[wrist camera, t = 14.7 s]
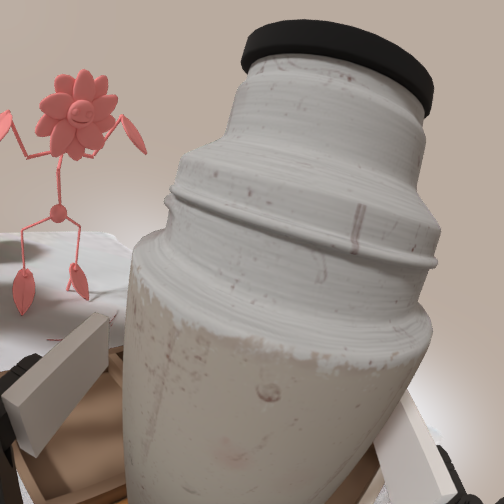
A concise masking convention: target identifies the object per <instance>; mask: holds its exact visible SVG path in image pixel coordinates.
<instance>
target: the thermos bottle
mask: <svg viewBox="0 0 504 504" xmlns="http://www.w3.org/2000/svg"><path fill="white" fill-rule="evenodd" d="M241 66H242V69H243V70H244V71H245V73H247V75H248V76H247V79H246V81H244V82H243V83H242V84H241V85H240V86H239V87H238V89H237V92H236V95H235V99H234V102H233V106H232V109H231V113H230V117H229V121H228V124H227V128H226V131H225V134H224V136H223V137H222V138H220V139H218V140H216V141H214V142H212V143H209V144H207V145H204V146H202V147H200V148H197V149H195V150H192V151H190V152H188V153H186V154H184V155H183V156H182V157H181V159H180V163H179V167H178V171H177V175H176V178H175V183H174V185H171V186H170V189H169V190H170V192H171V194H169V195H167V196H166V197H165V198H164V204H165V205H166V206H167V207H168V209H169V214H168V220H167V225H166V228H165V229H161V230H157V231H154V232H152V233H150V234H148V235H146V236H144V237H142V238H141V240H140V241H139V242H138V243H137V244H136V245H135V247H134V249H133V253H132V260H131V268H130V276H129V285H128V295H127V306H126V319H125V333H124V352H123V385H122V414H123V446H124V464H125V477H126V488H127V498H128V504H324V503H325V502H326V501H327V500H328V499H329V498H330V497H331V495H332V494H333V493H334V492H335V491H336V490H337V488H338V487H339V486H340V485H341V484H342V482H343V481H344V480H345V479H346V477H347V476H348V475H349V474H350V472H351V471H352V470H353V468H354V467H355V466H356V465H357V463H358V462H359V461H360V459H361V458H362V457H363V455H364V454H365V452H366V451H367V450H368V448H369V447H370V445H371V444H372V443H373V441H374V440H375V438H376V437H377V435H378V434H379V432H380V431H381V429H382V428H383V426H384V425H385V423H386V422H387V420H388V419H389V417H390V416H391V414H392V412H393V411H394V409H395V408H396V406H397V404H398V403H399V401H400V399H401V398H402V396H403V394H404V392H405V391H406V389H407V387H408V385H409V384H410V382H411V380H412V378H413V376H414V375H415V373H416V371H417V369H418V367H419V365H420V363H421V361H422V359H423V358H424V356H425V353H426V352H427V349H428V347H429V344H430V341H431V337H432V333H433V328H432V324H431V320H430V318H429V316H428V315H427V313H426V311H425V310H424V308H423V307H422V306H421V305H420V304H419V303H418V298H419V295H420V292H421V290H422V287H423V284H424V282H425V279H426V276H427V274H428V271H429V269H433V268H436V266H437V264H438V260H437V259H436V258H435V257H434V253H435V250H436V247H437V243H438V240H439V237H440V233H441V228H440V226H439V224H438V222H437V221H436V219H435V218H434V216H433V215H432V214H431V212H430V211H429V209H428V208H427V206H426V205H425V204H424V202H423V201H422V200H421V198H420V197H419V195H418V193H417V181H418V177H419V173H420V168H421V164H422V159H423V154H424V150H425V144H426V137H425V134H424V131H423V129H422V126H423V120H424V119H425V118H426V117H427V116H428V115H429V114H430V110H431V106H432V100H433V93H434V85H433V81H432V78H431V76H430V75H429V73H428V72H427V70H426V69H425V67H424V66H423V65H422V64H420V62H418V61H417V60H416V59H415V58H414V57H413V56H412V55H411V54H409V53H408V52H406V51H405V50H403V49H402V48H400V47H399V46H398V45H396V44H394V43H392V42H390V41H388V40H386V39H384V38H382V37H380V36H378V35H376V34H373V33H370V32H367V31H364V30H362V29H359V28H356V27H352V26H348V25H344V24H339V23H334V22H329V21H320V20H306V19H302V20H301V19H300V20H285V21H279V22H275V23H271V24H267V25H265V26H263V27H260V28H258V29H256V30H255V31H254V32H253V33H252V34H251V35H250V36H249V37H248V40H247V42H246V46H245V49H244V52H243V56H242V59H241Z"/></svg>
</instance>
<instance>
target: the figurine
mask: <svg viewBox="0 0 504 504" xmlns="http://www.w3.org/2000/svg"><path fill="white" fill-rule="evenodd" d="M54 86H55V91H56V93H55V94H50V95H49V96H47V97H46V98H44V99H43V100H42V101H41V102H40V109H41V111H42V112H44V113H45V114H44V115H43V116H42V117H41V119H40V120H39V122H38V124H37V126H36V128H35V133H36V135H37V136H39V137H45V136H50V135H51V137H50V151H46V152H42V153H37V154H33V155H29V156H28V155H27V153H26V150H25V148H24V146H23V144H22V142H21V139H20V137H19V135H18V132H17V130H16V128H15V125H14V123H13V121H12V115H11V114H10V110H6V111H5V112H3V113H1V114H0V141H1V140H2V139H3V138H4V137H5V135H6V134H7V133H8V131H9V129H10V127H12V130H13V132H14V134H15V136H16V139H17V141H18V143H19V145H20V148H21V149H22V152H23V154H24V156H25V157H26V156H27V159H31V158H35V157H40V156H44V155H48V154H51V155H52V157H58V156H60V159H59V162H58V167H57V172H56V175H57V189H58V201H59V204H57V205H54V206H53V207H52V208H51V210H50V217H48V218H45V219H43V220H41V221H38V222H36V223H34V224H32V225H29V226H27V227H25V228H22V230H21V246H22V260H23V269H21V270H19V271H18V273H17V275H16V277H15V279H14V283H13V288H12V290H13V299H14V301H15V304H16V306H17V309H18V311H19V312H20V314H21V316H23V314H24V313H25V312H26V311H27V310H28V308H29V307H30V305H31V304H32V302H33V298H34V294H35V282H34V278H33V274H32V273H31V271H30V270H29V269H28V268H27V269H25V258H24V243H23V230H26V229H28V228H30V227H32V226H35V225H37V224H40V223H42V222H44V221H47V220H49V219H51V220H52V221H53V222H55V223H61V222H63V221H64V220H65V219H68V220H69V221H71V222H72V223H74V224H75V225H77V226H78V227H79V231H78V240H77V249H76V261H75V263H72V264H70V268H69V273H70V279H69V282H68V285H67V288H66V291H69V289H70V286H71V283H72V285H73V287H74V288H75V290H76V291H77V293H78V294H80V295H81V296H82V297H83V298H84V299H86V300H87V301H88V300H89V291H88V283H87V279H86V276H85V274H84V272H83V271H82V269H81V268H80V267H79V265H78V264H77V260H78V249H79V240H80V231H81V226H80V225H79V224H78V223H76V222H75V221H73V220H72V219H70V218H69V217H68V216H67V210H66V208H65V207H64V206H63V205H61V185H60V168H61V163H62V157H63V154H64V153H68V155H69V156H70V157H71V158H72V159H73V160H76V161H78V160H79V159H81V158H82V156H83V157H87V158H92V159H93V158H94V157H93V155H94V156H95V155H96V154H97V153H98V151H99V150H100V149H102V148H103V146H104V144H105V141H106V140H107V139H108V137H109V136H110V135H111V133H112V132H113V131H114V129H115V128H116V126H117V125H118V124H119V123H120V121H121V122H122V125H123V127H124V130H125V132H126V133H127V135H128V137H129V138H130V140H131V141H132V142H133V143H134V145H135V146H136V147H137V148H138V149H139V150H141V151H142V152H143V153H144V154H145V155H146V154H147V151H146V148H145V145H144V142H143V140H142V137H141V136H140V134H139V132H138V130H137V129H136V127H135V126H134V125H133V124H132V123H131V121H129V119H128V118H126V117H125V116H124V115H123V114H121V115H120V116H119V119H118V120H117V121H116V123H115V118H114V117H113V116H111V115H110V114H111V112H112V111H113V110H114V109H115V107H116V105H117V102H118V97H117V96H116V95H106V94H107V90H108V79H107V77H106V76H104V75H101V76H100V77H98V78H96V79H95V80H94V79H93V76H92V75H91V74H90V72H89V71H87V70H85V69H83V70H81V71H79V73H78V75H77V78H76V79H74V78H73V77H71V76H70V75H65V74H61V75H58V76H57V77H56V79H55V83H54ZM108 130H110V131H109V132H108V133H107V135H106V136H105V137H103V135H102V133H104V132H107V131H108ZM85 148H88V149H91V150H95V152H94V153H93V154H92V155H90V154H85ZM27 159H26V160H27ZM114 317H115V316H114ZM113 319H114V318H113ZM110 327H111V326H110ZM47 340H52V339H47ZM61 340H63V339H61ZM57 341H60V340H57Z"/></svg>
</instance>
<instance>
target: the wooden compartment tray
mask: <svg viewBox="0 0 504 504" xmlns="http://www.w3.org/2000/svg"><path fill="white" fill-rule="evenodd" d="M123 352H124V345H122V346H118V347H114V348H110V349H108V367H107V368H106V369H105V370H104V372H103V373H102V374H101V375H100V377H99V378H98V379H97V380H96V382H95V383H94V384H93V385H92V387H91V388H90V389H89V390H88V392H87V393H86V394H85V395H84V397H83V398H82V399H81V400H80V402H79V403H78V404H77V406H76V407H75V408H74V409H73V411H72V412H71V413H70V414H69V416H68V417H67V418H66V420H65V421H64V422H63V424H62V425H61V426H60V427H59V429H58V430H57V431H56V433H55V434H54V435H53V437H52V438H51V439H50V441H49V442H48V443H47V445H46V446H45V447H44V449H43V450H42V451H41V453H40V454H39V455H38V457H37V458H35V457H33V456H32V455H30V454H29V453H27V452H25V451H24V450H22V449H21V448H20V447H19V444H18V442H17V439H16V440H15V441H14V442H13V443H12V447H13V452H14V459H15V465H16V469H17V471H18V474H19V476H20V478H21V480H22V482H23V484H24V486H25V488H26V490H27V492H28V494H29V495H30V497H31V499H32V501H33V503H34V504H128V498H127V488H126V477H125V464H124V446H123V414H122V385H123ZM8 371H10V370H8ZM8 371H2V372H0V378H1V377H2V376H3V375H4V374H6V373H7V372H8ZM384 483H385V481H384V477H383V474H382V470H381V467H380V463H379V460H378V456H377V453H376V450H375V446H374V443H372V444H371V445H370V447H369V448H368V450H367V451H366V452H365V454H364V455H363V457H362V458H361V459H360V461H359V462H358V463H357V465H356V466H355V467H354V468H353V470H352V471H351V472H350V474H349V475H348V476H347V477H346V479H345V480H344V481H343V482H342V484H341V485H340V486H339V487H338V488H337V490H336V491H335V492H334V493H333V494H332V495H331V497H330V498H329V499H328V500H327V501H326V502H325V503H324V504H373V503H374V501H375V500H376V498H377V496H378V494H379V492H380V491H381V489H382V487H383V485H384Z"/></svg>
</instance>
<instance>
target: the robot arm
mask: <svg viewBox="0 0 504 504" xmlns="http://www.w3.org/2000/svg"><path fill="white" fill-rule="evenodd" d="M109 319H110V317H107V316H104V315H102V314H99V313H96V312H95V313H93V314H92V315H91V316H90V317H89V318H88V319H86V320H85V321H84V322H83V323H82V324H80V325H79V326H78V327H77V328H76V329H75V330H73V331H72V332H71V333H70V334H69V335H68V336H66V337H65V338H64V339H63V340H62V341H61V342H59V343H58V344H57V345H56V346H55V347H54V348H53V349H51V350H50V351H49V352H48V353H47V354H46V355H45V356H44V357H42V356H40V355H38V354H36V353H35V354H32V355H29V356H27V357H24V358H23V359H22V360H21V361H20V362H18V363H17V364H16V366H14V367H13V368H11V369H10V371H8V372H7V373H6V374H4V375H3V376H2V377H1V378H0V504H23V500H22V496H21V491H20V487H19V482H18V476H17V471H16V465H15V459H14V452H13V447H12V443H13V442H14V441H15V440H16V439H17V442H18V444H19V447H20V448H21V449H22V450H24V451H25V452H27V453H29V454H30V455H32V456H33V457H35V458H37V457H38V455H39V454H40V453H41V451H42V450H43V449H44V447H45V446H46V445H47V443H48V442H49V441H50V439H51V438H52V437H53V435H54V434H55V433H56V431H57V430H58V429H59V427H60V426H61V425H62V424H63V422H64V421H65V420H66V418H67V417H68V416H69V414H70V413H71V412H72V411H73V409H74V408H75V407H76V406H77V404H78V403H79V402H80V400H81V399H82V398H83V397H84V395H85V394H86V393H87V392H88V390H89V389H90V388H91V387H92V385H93V384H94V383H95V382H96V380H97V379H98V378H99V377H100V375H101V374H102V373H103V372H104V370H105V369H106V368H107V367H108V349H109ZM373 443H374V446H375V450H376V453H377V456H378V460H379V463H380V467H381V470H382V474H383V477H384V481H385V484H386V488H387V492H388V495H389V499H390V503H391V504H483V503H482V501H481V500H480V499H479V498H478V497H477V496H475V495H472V494H467V493H466V491H465V489H464V487H463V485H462V482H461V480H460V478H459V476H458V474H457V472H456V470H454V469H455V468H454V466H453V464H452V463H451V459H450V457H449V456H448V453H447V452H446V451H445V450H444V449H443V448H442V447H441V446H440V445H435V442H434V440H433V438H432V436H431V434H430V432H429V430H428V428H427V426H426V424H425V422H424V420H423V418H422V417H421V414H420V413H419V411H418V409H417V407H416V405H415V403H414V401H413V399H412V397H411V395H410V393H409V392H408V390H407V389H406V391H405V392H404V394H403V396H402V398H401V399H400V401H399V403H398V404H397V406H396V408H395V409H394V411H393V412H392V414H391V416H390V417H389V419H388V420H387V422H386V423H385V425H384V426H383V428H382V429H381V431H380V432H379V434H378V435H377V437H376V438H375V440H374V441H373ZM495 504H504V497H503V498H501V499H500V500H499V501H498V502H497V503H495Z"/></svg>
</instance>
